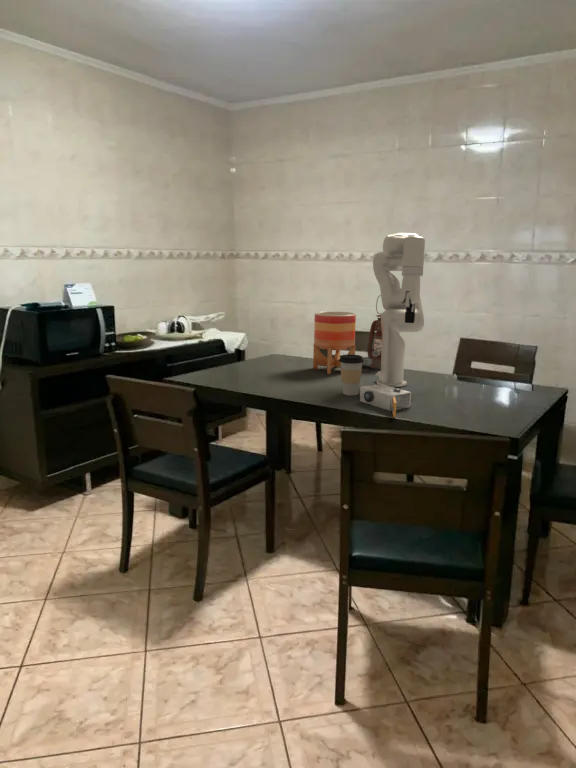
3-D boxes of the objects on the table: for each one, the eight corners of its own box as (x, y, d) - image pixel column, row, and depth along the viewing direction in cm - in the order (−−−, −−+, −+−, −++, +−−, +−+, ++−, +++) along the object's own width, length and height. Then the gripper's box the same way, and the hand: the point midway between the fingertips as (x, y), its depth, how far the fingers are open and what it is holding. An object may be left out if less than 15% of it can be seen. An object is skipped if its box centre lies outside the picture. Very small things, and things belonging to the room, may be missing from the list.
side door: (394, 410, 196) (395, 396, 195) (396, 417, 187) (396, 402, 186) (390, 409, 196) (391, 396, 195) (392, 417, 187) (392, 402, 186)
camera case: (357, 401, 208) (358, 385, 207) (379, 397, 214) (380, 381, 213) (387, 411, 195) (388, 394, 194) (410, 407, 202) (411, 390, 200)
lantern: (373, 363, 283) (376, 293, 275) (401, 367, 273) (405, 295, 265) (361, 366, 275) (363, 294, 267) (389, 371, 265) (393, 296, 257)
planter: (318, 364, 279) (319, 310, 273) (358, 367, 273) (360, 312, 267) (307, 372, 260) (308, 314, 254) (349, 375, 254) (351, 316, 248)
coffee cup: (366, 392, 222) (367, 355, 219) (356, 397, 214) (357, 359, 211) (344, 389, 227) (345, 353, 223) (334, 394, 219) (335, 356, 215)
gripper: (407, 271, 210) (404, 320, 214) (396, 272, 197) (393, 324, 201) (427, 271, 207) (424, 321, 211) (417, 272, 194) (414, 325, 198)
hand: (409, 322), depth 206 cm, fingers closed
